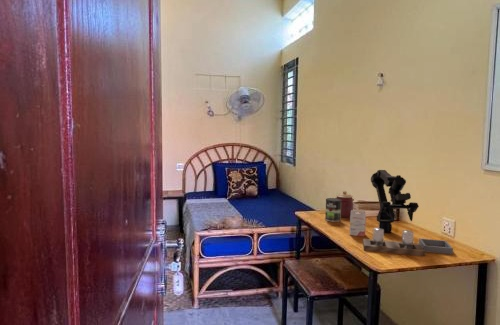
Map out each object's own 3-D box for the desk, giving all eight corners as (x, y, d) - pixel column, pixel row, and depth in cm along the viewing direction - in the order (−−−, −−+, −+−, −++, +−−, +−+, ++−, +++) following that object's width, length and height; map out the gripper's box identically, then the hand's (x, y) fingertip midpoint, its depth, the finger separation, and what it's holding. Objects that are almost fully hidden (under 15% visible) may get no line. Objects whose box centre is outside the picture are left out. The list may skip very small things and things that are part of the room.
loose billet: (400, 250, 177) (401, 231, 177) (403, 248, 181) (404, 229, 180) (410, 253, 174) (411, 233, 173) (413, 250, 178) (414, 231, 177)
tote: (423, 251, 177) (424, 245, 176) (418, 243, 189) (419, 238, 189) (452, 254, 173) (453, 248, 173) (445, 246, 186) (445, 240, 186)
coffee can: (337, 222, 231) (338, 201, 230) (322, 220, 237) (323, 199, 235) (342, 219, 239) (343, 199, 238) (328, 217, 245) (329, 197, 244)
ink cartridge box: (365, 234, 205) (366, 209, 204) (364, 236, 200) (366, 211, 199) (349, 232, 208) (351, 208, 207) (349, 235, 203) (350, 210, 202)
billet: (372, 249, 179) (373, 229, 178) (372, 246, 184) (373, 227, 183) (383, 250, 178) (384, 230, 177) (382, 247, 183) (383, 228, 182)
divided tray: (363, 250, 177) (364, 245, 177) (362, 243, 189) (363, 238, 188) (424, 256, 170) (425, 251, 170) (419, 248, 181) (420, 243, 181)
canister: (349, 218, 243) (351, 193, 241) (331, 215, 250) (332, 191, 248) (355, 215, 253) (356, 190, 252) (338, 212, 260) (338, 188, 259)
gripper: (383, 186, 188) (389, 211, 178) (418, 187, 188) (426, 213, 178) (377, 198, 197) (383, 223, 187) (411, 199, 196) (418, 224, 186)
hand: (402, 220), depth 184 cm, fingers open, 9 cm apart
